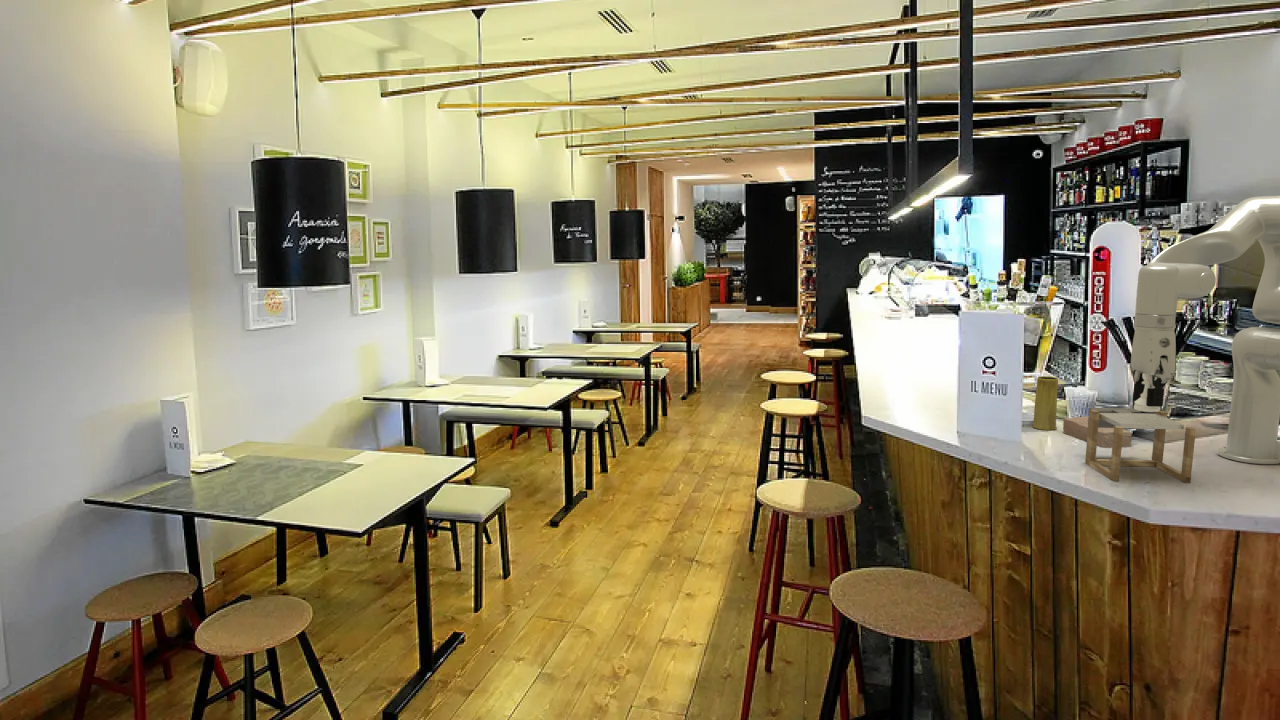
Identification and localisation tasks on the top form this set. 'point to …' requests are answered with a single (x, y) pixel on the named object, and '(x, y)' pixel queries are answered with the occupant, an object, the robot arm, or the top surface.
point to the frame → (1155, 462)
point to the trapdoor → (1133, 419)
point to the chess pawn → (1145, 397)
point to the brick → (1105, 435)
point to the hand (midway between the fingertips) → (1147, 402)
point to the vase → (1045, 403)
